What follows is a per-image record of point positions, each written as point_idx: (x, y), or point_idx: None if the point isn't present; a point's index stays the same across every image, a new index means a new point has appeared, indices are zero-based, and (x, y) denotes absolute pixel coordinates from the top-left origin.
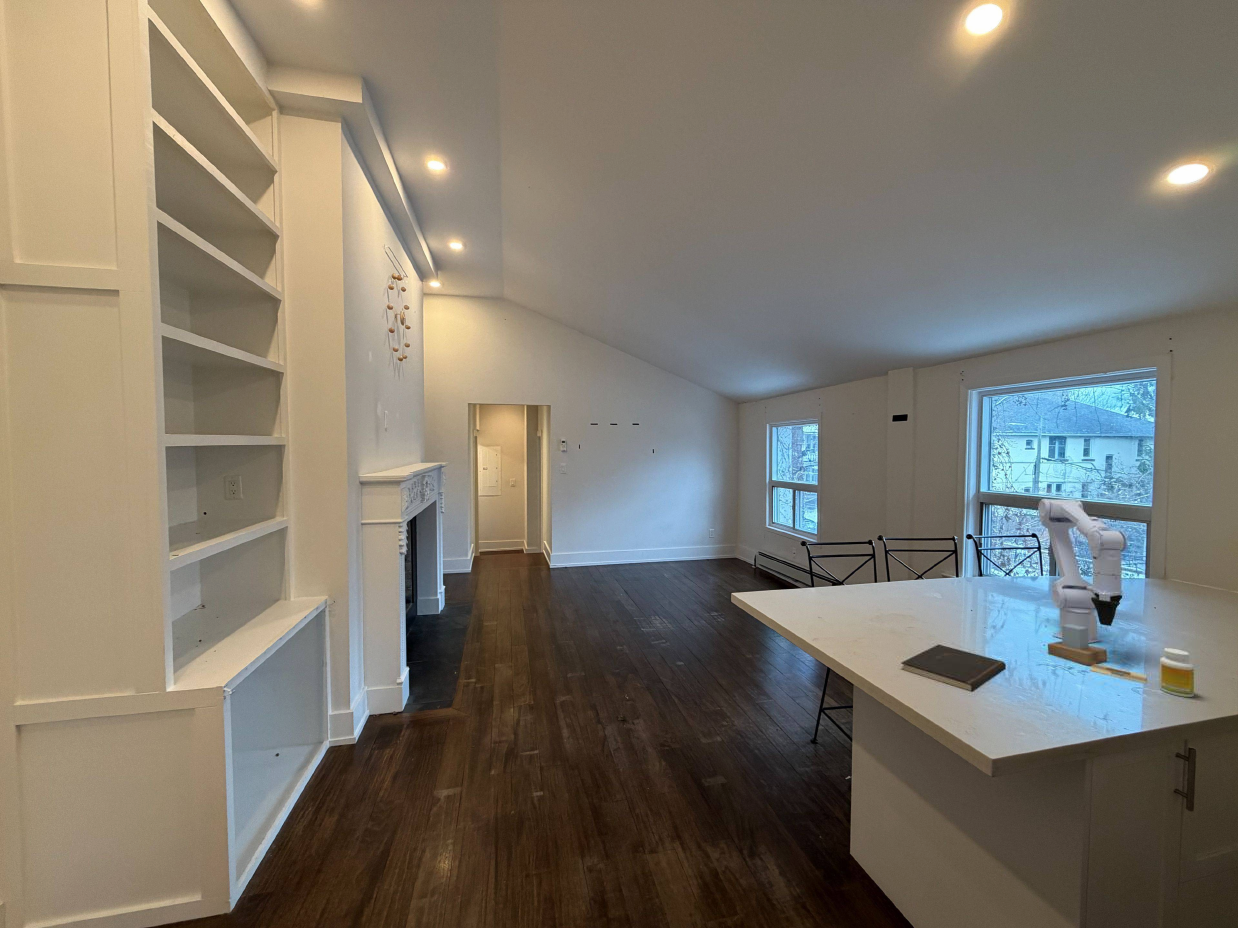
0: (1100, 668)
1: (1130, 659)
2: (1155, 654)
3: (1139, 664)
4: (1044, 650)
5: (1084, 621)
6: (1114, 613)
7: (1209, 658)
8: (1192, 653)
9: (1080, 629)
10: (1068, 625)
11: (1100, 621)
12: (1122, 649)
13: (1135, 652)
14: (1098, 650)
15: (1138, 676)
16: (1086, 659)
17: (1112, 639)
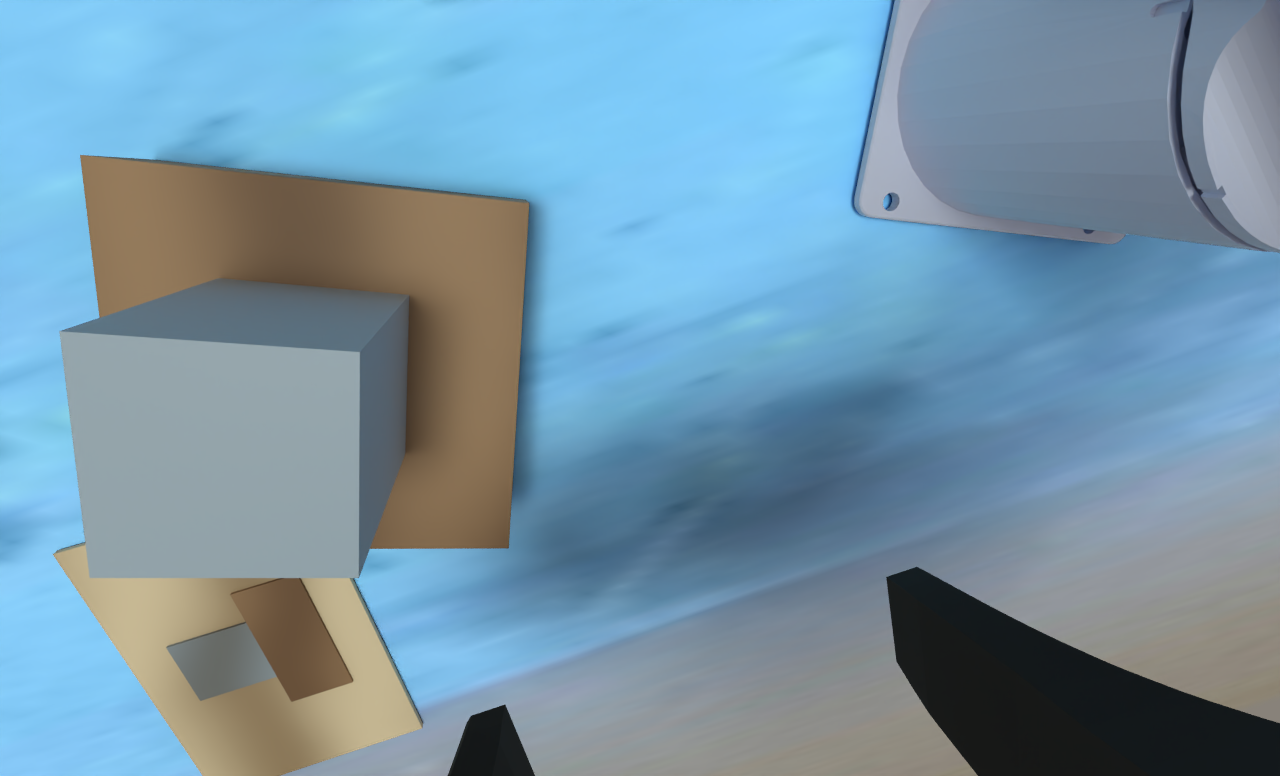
0: None
1: (742, 535)
2: (1023, 547)
3: (666, 604)
4: (255, 77)
5: (1097, 208)
6: (968, 759)
7: (1171, 680)
8: (1217, 613)
9: (136, 573)
10: (200, 384)
11: (458, 759)
12: (977, 410)
13: (968, 478)
14: (398, 531)
15: (325, 725)
16: None
17: (1227, 264)
